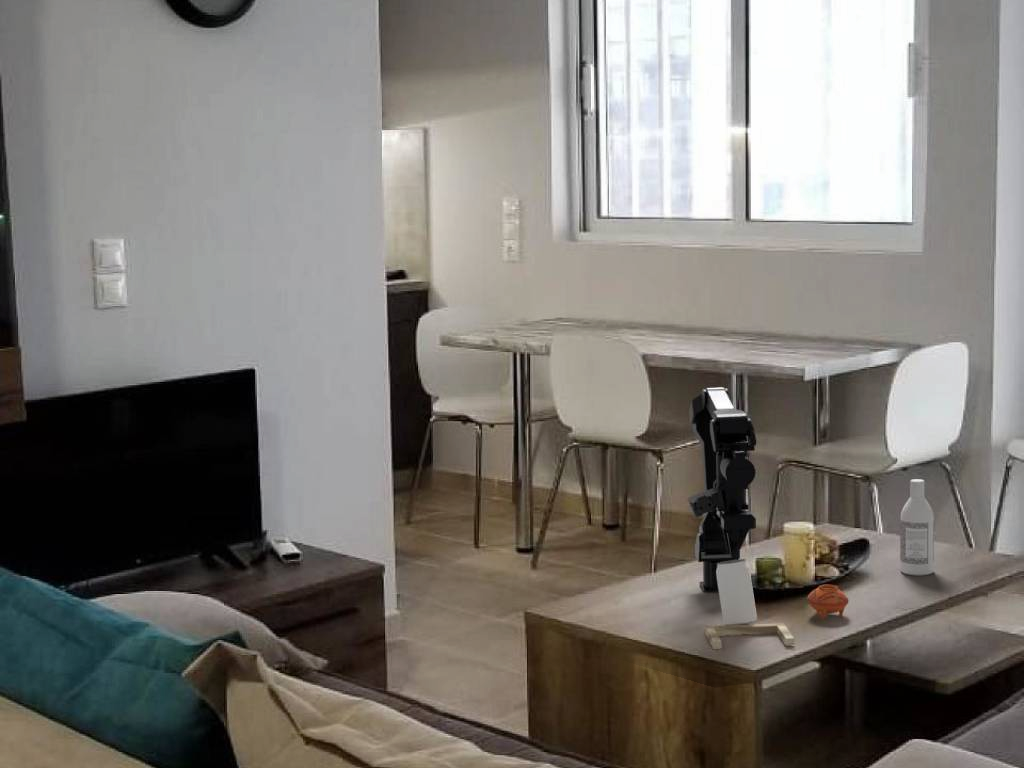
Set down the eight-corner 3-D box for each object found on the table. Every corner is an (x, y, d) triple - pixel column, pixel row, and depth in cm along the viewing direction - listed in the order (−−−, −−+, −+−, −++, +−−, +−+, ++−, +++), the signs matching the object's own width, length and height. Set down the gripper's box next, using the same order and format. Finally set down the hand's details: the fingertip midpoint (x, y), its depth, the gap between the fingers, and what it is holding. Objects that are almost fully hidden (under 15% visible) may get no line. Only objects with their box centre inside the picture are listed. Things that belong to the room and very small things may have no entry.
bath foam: (912, 566, 354) (912, 475, 351) (940, 571, 349) (940, 479, 346) (893, 572, 349) (894, 480, 346) (921, 578, 344) (922, 485, 341)
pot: (796, 614, 320) (801, 580, 320) (824, 616, 324) (829, 582, 324) (825, 622, 313) (830, 587, 313) (853, 624, 318) (859, 589, 318)
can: (731, 627, 310) (722, 564, 310) (718, 625, 316) (709, 563, 317) (763, 621, 312) (753, 559, 312) (749, 619, 318) (739, 558, 318)
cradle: (705, 634, 310) (705, 626, 310) (783, 630, 311) (783, 623, 310) (713, 649, 301) (713, 641, 300) (794, 646, 301) (794, 638, 301)
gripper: (683, 469, 327) (684, 545, 330) (697, 488, 309) (698, 568, 311) (738, 467, 328) (739, 542, 330) (756, 486, 309) (756, 566, 312)
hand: (732, 554), depth 321 cm, fingers open, 4 cm apart
